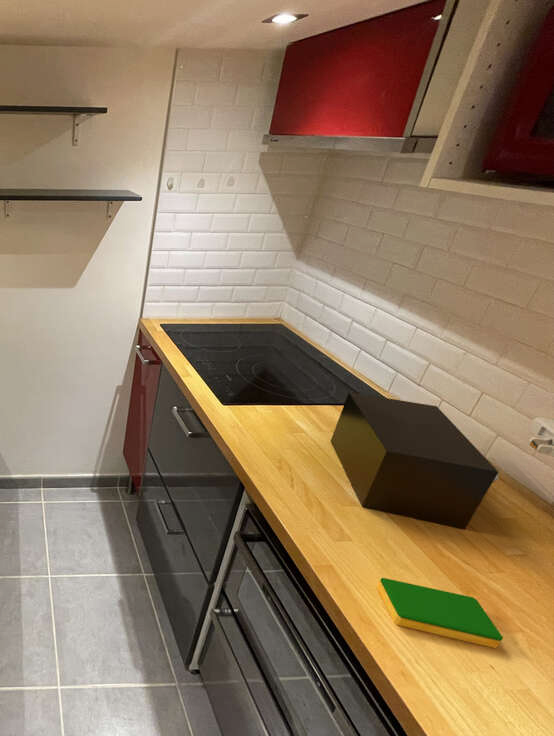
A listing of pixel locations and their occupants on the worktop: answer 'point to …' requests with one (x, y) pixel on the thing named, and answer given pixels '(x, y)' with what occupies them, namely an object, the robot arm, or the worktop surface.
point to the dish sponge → (438, 612)
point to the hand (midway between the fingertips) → (534, 444)
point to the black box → (410, 460)
